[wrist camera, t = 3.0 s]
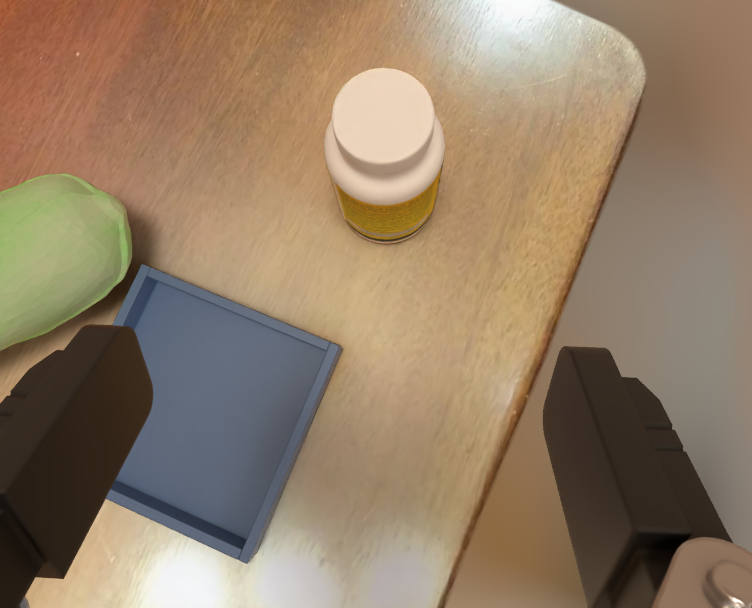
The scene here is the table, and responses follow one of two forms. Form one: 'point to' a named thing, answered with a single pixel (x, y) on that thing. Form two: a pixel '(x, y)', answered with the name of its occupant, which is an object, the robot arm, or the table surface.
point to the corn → (57, 253)
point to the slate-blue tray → (217, 411)
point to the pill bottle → (384, 154)
